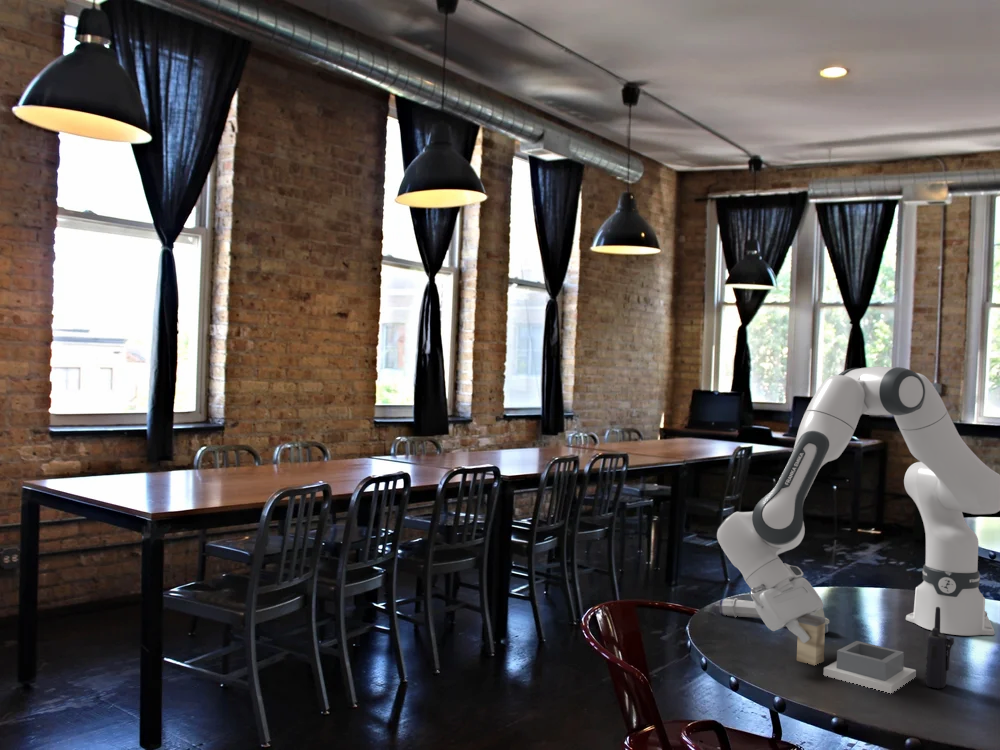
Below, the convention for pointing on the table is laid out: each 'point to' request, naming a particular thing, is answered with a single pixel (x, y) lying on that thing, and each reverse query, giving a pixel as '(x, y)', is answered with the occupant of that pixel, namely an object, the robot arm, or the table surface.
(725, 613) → the white long handled device
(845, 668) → the tool holder
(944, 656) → the two-way radio
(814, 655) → the light wood tall block
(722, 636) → the table surface
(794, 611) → the robot arm
